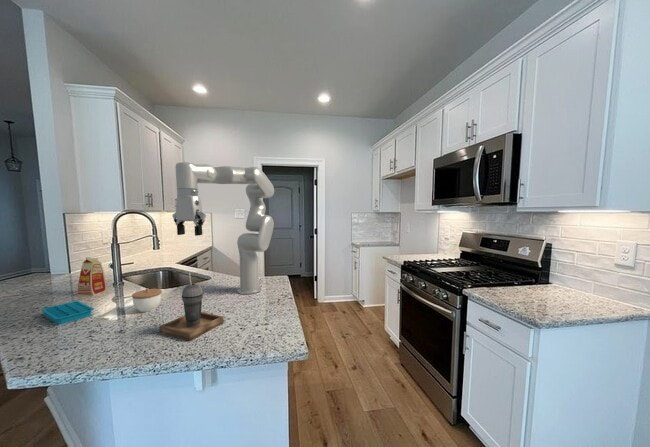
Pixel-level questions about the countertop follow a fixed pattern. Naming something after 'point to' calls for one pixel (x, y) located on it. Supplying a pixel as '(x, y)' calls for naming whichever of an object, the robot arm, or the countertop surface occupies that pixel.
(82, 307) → the ice cube tray
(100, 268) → the milk carton
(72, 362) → the countertop surface
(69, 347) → the countertop surface
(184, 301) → the beverage cup
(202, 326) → the walnut tray
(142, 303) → the lidded jar
